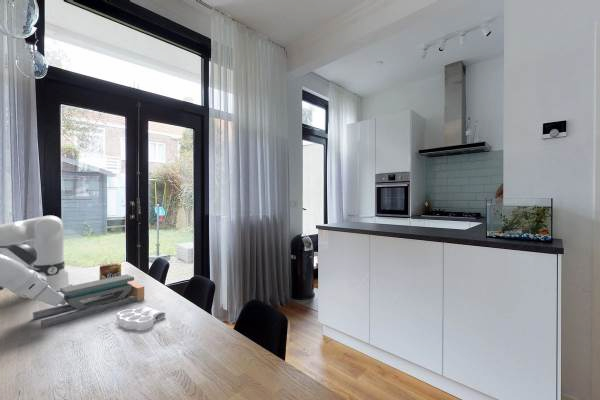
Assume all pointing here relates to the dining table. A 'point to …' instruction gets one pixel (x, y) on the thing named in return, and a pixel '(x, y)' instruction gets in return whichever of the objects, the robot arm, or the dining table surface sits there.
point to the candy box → (110, 270)
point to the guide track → (80, 312)
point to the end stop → (136, 290)
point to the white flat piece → (138, 318)
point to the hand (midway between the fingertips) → (64, 302)
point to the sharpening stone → (97, 291)
